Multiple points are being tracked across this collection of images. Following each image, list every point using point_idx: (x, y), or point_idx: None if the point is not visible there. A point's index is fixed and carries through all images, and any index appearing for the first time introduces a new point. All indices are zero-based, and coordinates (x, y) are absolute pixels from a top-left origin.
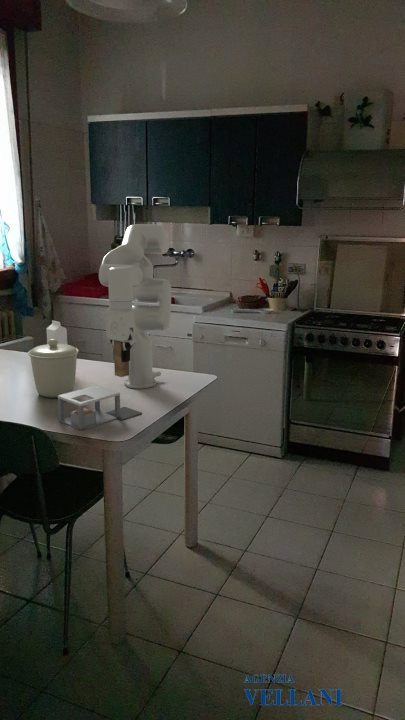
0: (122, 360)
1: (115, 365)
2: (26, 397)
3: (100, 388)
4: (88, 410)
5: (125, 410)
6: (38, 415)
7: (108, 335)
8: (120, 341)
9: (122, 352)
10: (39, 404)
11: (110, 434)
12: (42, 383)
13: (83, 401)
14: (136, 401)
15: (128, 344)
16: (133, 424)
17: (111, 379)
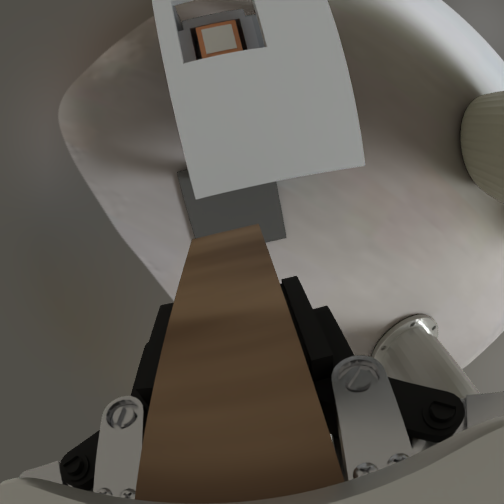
0: (161, 310)
1: (255, 254)
2: (488, 78)
3: (310, 150)
4: (201, 52)
5: (250, 222)
6: (369, 4)
7: (492, 487)
8: (75, 489)
9: (142, 370)
10: (443, 60)
11: (95, 98)
12: (499, 93)
13: (170, 10)
14: (313, 291)
15: (66, 469)
16: (129, 189)
17: (467, 303)
